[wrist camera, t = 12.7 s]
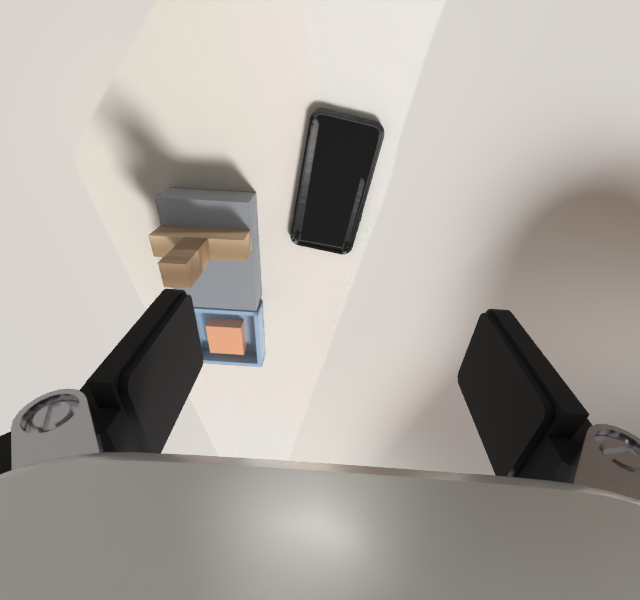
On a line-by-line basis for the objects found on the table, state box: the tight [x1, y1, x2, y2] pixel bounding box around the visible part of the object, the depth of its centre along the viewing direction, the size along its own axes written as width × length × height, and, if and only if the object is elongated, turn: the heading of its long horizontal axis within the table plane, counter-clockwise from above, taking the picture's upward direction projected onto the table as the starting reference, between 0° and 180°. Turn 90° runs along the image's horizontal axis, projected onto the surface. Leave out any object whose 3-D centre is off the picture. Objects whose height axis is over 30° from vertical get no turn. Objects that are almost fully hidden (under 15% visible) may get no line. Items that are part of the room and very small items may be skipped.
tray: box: [194, 300, 265, 367], centre depth 48 cm, size 10×10×3 cm
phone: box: [291, 108, 384, 254], centre depth 38 cm, size 8×1×15 cm
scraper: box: [149, 225, 252, 288], centre depth 34 cm, size 2×10×9 cm, turn 88°
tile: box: [206, 318, 247, 355], centre depth 49 cm, size 5×5×2 cm
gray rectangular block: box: [155, 188, 262, 311], centre depth 41 cm, size 14×10×4 cm
